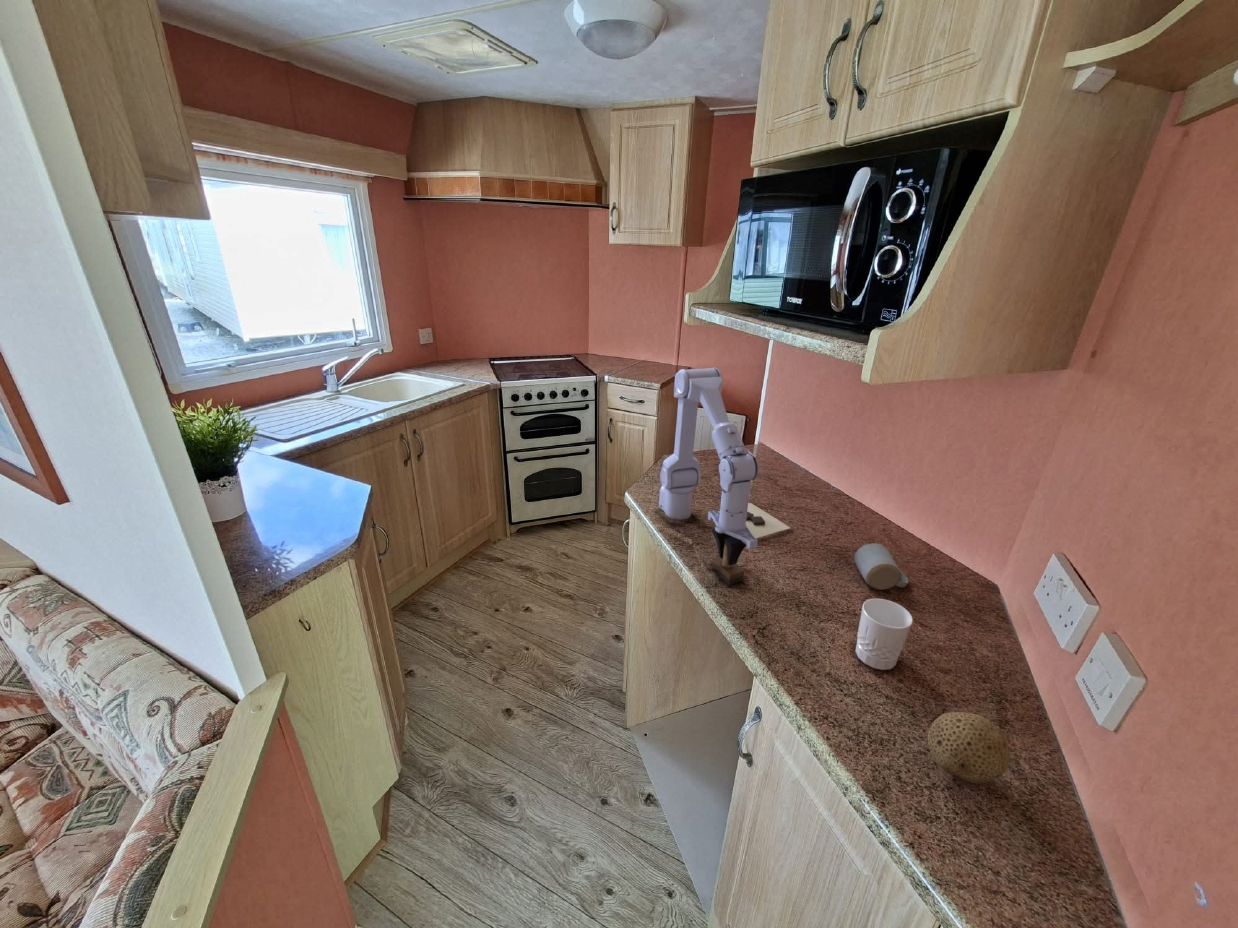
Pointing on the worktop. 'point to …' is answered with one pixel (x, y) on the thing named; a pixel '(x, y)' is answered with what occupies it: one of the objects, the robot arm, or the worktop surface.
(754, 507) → the tile
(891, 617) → the white cup
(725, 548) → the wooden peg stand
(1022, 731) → the worktop surface
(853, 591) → the worktop surface
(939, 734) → the natural sponge
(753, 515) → the shell bit
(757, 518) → the shell bit
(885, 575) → the ceramic mug
